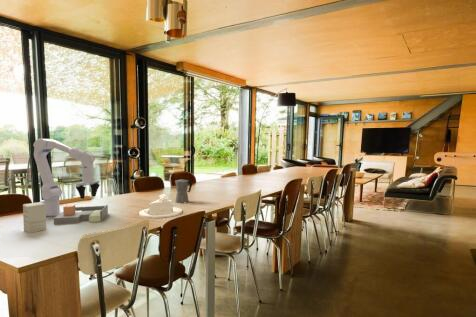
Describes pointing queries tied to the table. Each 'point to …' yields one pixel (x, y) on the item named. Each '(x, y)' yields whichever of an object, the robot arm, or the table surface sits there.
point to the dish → (161, 208)
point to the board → (83, 215)
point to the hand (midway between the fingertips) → (88, 197)
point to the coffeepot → (182, 190)
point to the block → (69, 210)
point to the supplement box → (34, 217)
